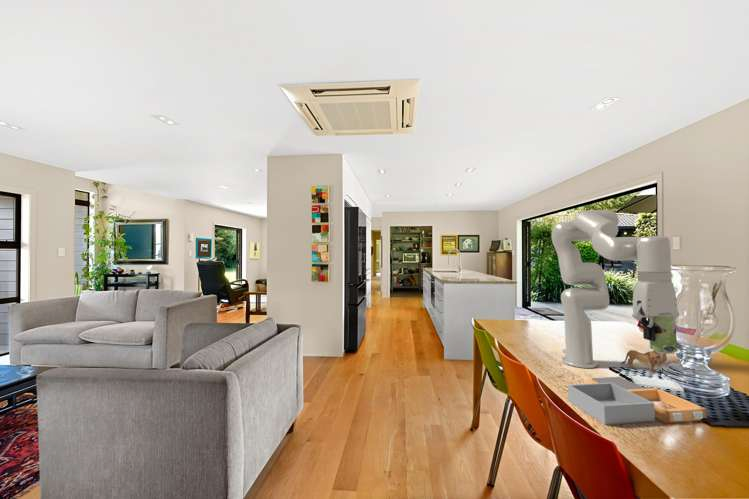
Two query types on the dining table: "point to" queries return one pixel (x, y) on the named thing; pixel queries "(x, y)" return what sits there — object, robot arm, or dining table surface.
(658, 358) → the lion figurine
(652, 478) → the dining table surface
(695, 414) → the case
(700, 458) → the dining table surface
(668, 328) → the beverage can
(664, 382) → the hard drive
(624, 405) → the parts bin
